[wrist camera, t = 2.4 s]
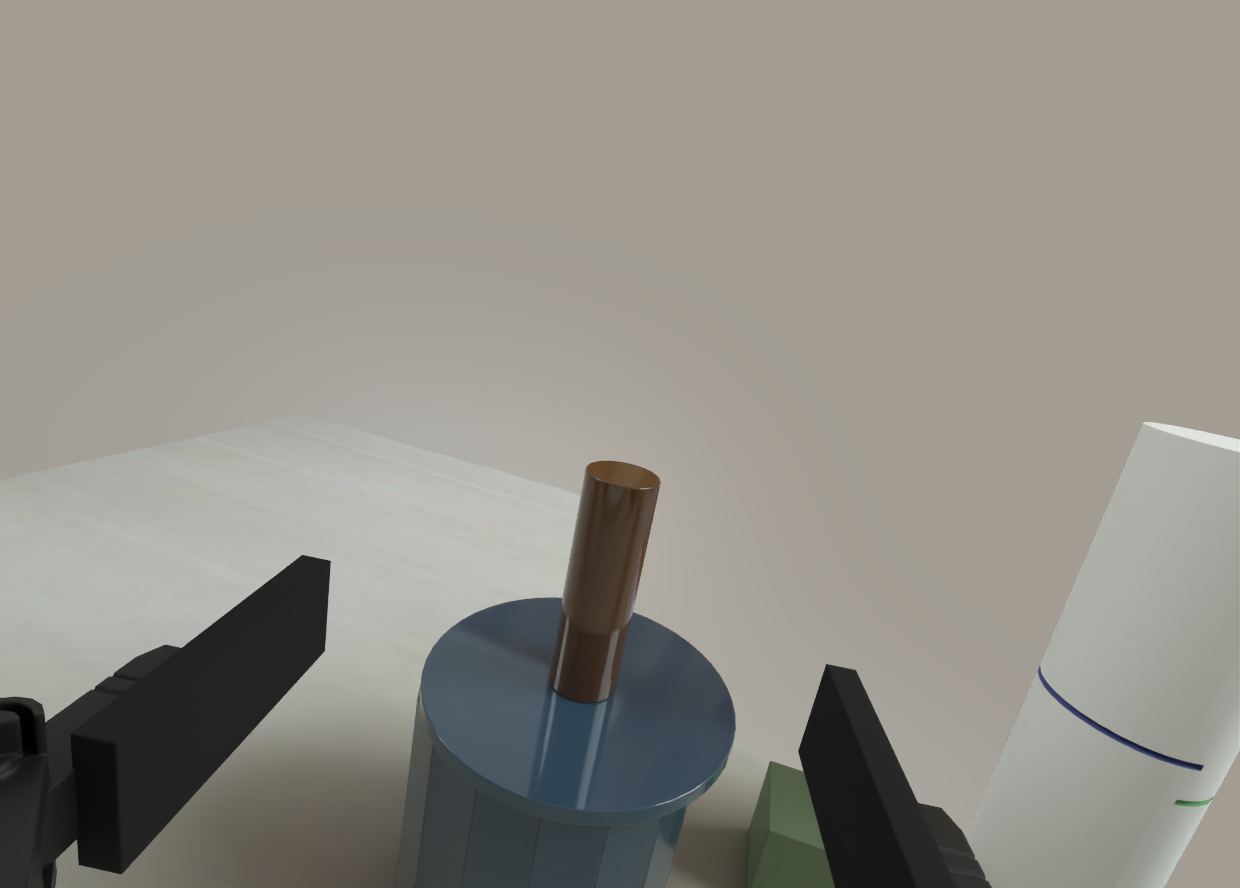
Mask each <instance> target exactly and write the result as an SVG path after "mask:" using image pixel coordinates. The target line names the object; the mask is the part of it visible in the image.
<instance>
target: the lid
mask: <svg viewBox="0 0 1240 888" xmlns="http://www.w3.org/2000/svg"><path fill="white" fill-rule="evenodd" d="M660 484H661V483H660V479H659V477H658V476H657V475H656V474H654V473H653V472H651V471H649V470H647V469H645V468H642V467H639V466H636V465H633V464H628V463H623V462H617V461H597V462H593V463H590V464H589V465H588V466H587V467H586V470H585V475H584V481H583V487H582V492H581V498H580V503H579V509H578V514H577V520H576V525H575V531H574V536H573V542H572V548H571V553H570V559H569V564H568V570H567V575H566V581H565V586H564V592H563V597H562V598H532V599H523V600H517V601H511V602H506V603H502V604H499V605H495V606H492V607H489V608H486V609H484V610H481V611H479V612H476V613H474V614H472V615H470V616H469V617H467V618H465V619H463V620H462V621H460V622H459V623H457V624H456V625H454V626H453V627H451V628H450V629H449V630H448V631H447V632H446V633H445V634H444V635H443V636H442V637H441V638H440V639H439V640H438V642H437V643H436V644H435V645H434V647H433V648H432V650H431V652H430V654H429V655H428V657H427V659H426V662H425V665H424V668H423V671H422V676H421V685H420V695H419V702H420V712H421V716H422V720H423V723H424V726H425V729H426V732H427V734H428V736H429V737H430V739H431V741H432V743H433V745H434V747H435V748H436V750H437V751H438V752H439V754H440V755H441V756H442V758H443V759H444V760H445V762H446V763H447V764H448V765H449V766H450V767H451V768H452V769H453V770H454V771H455V772H456V773H457V774H458V775H459V776H460V777H461V778H463V779H464V780H465V781H467V782H468V783H469V784H471V785H472V786H474V787H475V788H476V789H478V790H479V791H480V792H482V793H484V794H486V795H487V796H489V797H491V798H493V799H495V800H496V801H498V802H500V803H502V804H504V805H507V806H509V807H511V808H514V809H516V810H518V811H521V812H523V813H526V814H530V815H533V816H536V817H540V818H543V819H547V820H551V821H556V822H562V823H568V824H574V825H588V826H614V825H628V824H633V823H638V822H644V821H649V820H652V819H655V818H658V817H661V816H664V815H668V814H671V813H673V812H675V811H677V810H679V809H681V808H683V807H685V806H687V805H689V804H690V803H691V802H693V801H694V800H695V799H697V798H698V797H700V796H701V795H702V794H704V793H705V792H706V791H707V790H708V789H709V788H710V787H711V786H712V784H713V783H714V782H715V781H716V780H717V779H718V777H719V776H720V774H721V773H722V771H723V769H724V768H725V766H726V763H727V761H728V758H729V756H730V753H731V750H732V746H733V742H734V736H735V730H736V723H735V711H734V707H733V702H732V699H731V697H730V694H729V691H728V689H727V687H726V685H725V683H724V682H723V680H722V678H721V676H720V675H719V673H718V672H717V671H716V669H715V668H714V667H713V666H712V664H711V663H710V662H709V661H708V660H707V659H706V658H705V657H704V656H703V655H702V654H701V653H700V652H699V651H698V650H697V649H696V648H694V647H693V646H692V645H691V644H690V643H689V642H687V641H686V640H685V639H683V638H682V637H680V636H679V635H678V634H676V633H674V632H673V631H671V630H669V629H668V628H666V627H664V626H663V625H661V624H659V623H657V622H654V621H652V620H651V619H649V618H646V617H644V616H641V615H639V614H636V613H634V612H633V609H634V604H635V599H636V594H637V590H638V585H639V581H640V576H641V571H642V567H643V562H644V558H645V553H646V548H647V544H648V539H649V534H650V530H651V525H652V521H653V515H654V511H655V507H656V502H657V498H658V493H659V488H660Z"/></svg>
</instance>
